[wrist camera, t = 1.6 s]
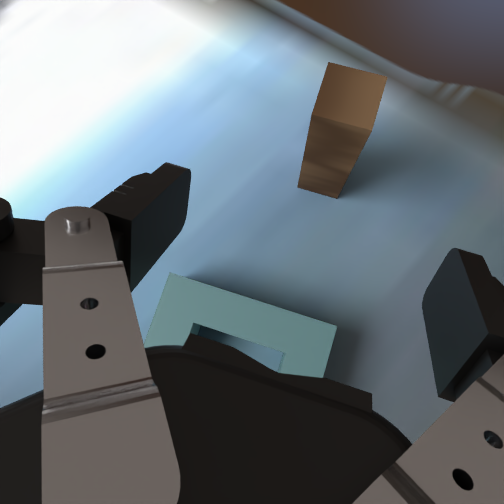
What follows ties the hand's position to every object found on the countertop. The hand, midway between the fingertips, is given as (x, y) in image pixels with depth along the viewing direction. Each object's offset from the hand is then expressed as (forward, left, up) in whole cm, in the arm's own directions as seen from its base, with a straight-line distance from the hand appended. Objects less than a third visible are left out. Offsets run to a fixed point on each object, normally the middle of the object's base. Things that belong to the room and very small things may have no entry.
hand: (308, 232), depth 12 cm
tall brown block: (0, -9, -16) cm, 18 cm away
